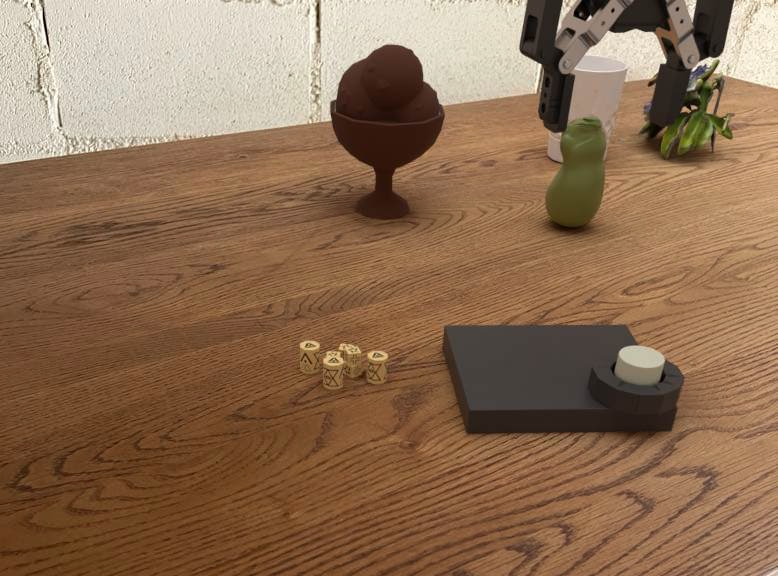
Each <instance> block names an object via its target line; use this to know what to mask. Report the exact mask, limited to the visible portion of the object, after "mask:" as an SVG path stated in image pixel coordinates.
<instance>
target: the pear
mask: <svg viewBox="0 0 778 576" xmlns="http://www.w3.org/2000/svg"><path fill="white" fill-rule="evenodd" d="M602 125H603V122H602V121H601V120H600V119H599V118H597V117H584V118H583V119H581V118H579V119H575V120H573V121H572V122H571V123H569V124H567V128H566V131H565V132H564V133H562V134H561V140H560V151H561V154H562V157H563V163H561V166H560V168H559V170H558V171H557V173H556V174H555V176H554V177H553V179H552V181H551V182H550V184H549V185H548V187H547V188H546V192H545V195H544V206H545V210H546V213H547V215H548V216H549V218H550V219H551V220H552V221H553V222H555V223H556V224H558V225H559V226H562V227H566V228H577V227H581V226H584V225H586V224H588V223H589V222H590V221H592V220H593V219H594V218H595V216H596V215H597V214H598V211H599V210H600V207H601V204H602V201H603V196H604V190H605V185H606V184H605V183H606V169H605V163H604V161H603V158H604V154H605V150H606V137H605V132H602Z"/></svg>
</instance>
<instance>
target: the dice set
mask: <svg viewBox="0 0 778 576" xmlns="http://www.w3.org/2000/svg"><path fill="white" fill-rule="evenodd" d="M366 356H367V357H366V381H367V383H369V384H372V385H383V384H384V383H386V382H387V381H388V365H389V364H388V363H389V356H388V354H387V352H385V351H382V350H372V351H370V352H368V353H367V355H366ZM322 360H323V361H322V384H323V388H325V389H327V390H330V391H331V390H332V391H334V390H335V391H337V390H340V389H342V388H343V387H344V375H345V376H347V377H348V378H350V379H354V378H357V377H360V376H362V375H363V362H362V351H361V349H360V348H359V346H358V345H357V346H355V345H354V344H349V343H340V345H339V347H338V349H337V351H326V357H323V359H322ZM320 368H321V344H320V343H319V342H317V341H315V340H305V341H302V342H300V344H299V371H300V372H301V373H303V374H306V375H314V374H316V373H319V372H320V370H321V369H320Z"/></svg>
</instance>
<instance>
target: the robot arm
mask: <svg viewBox="0 0 778 576" xmlns="http://www.w3.org/2000/svg"><path fill="white" fill-rule="evenodd" d="M563 2H564V0H526V5H525V11H524V17H523V21H522V29H521V33H520V40H519V47H518V49H519V52H520V54H521V55H522V56H524V57H526V58H528V59H530V60H532V61H534V62H536V63H537V64H540V65H541V67H542V71H543V74H542V80H541V88H540V96H539V102H538V107H537V112H538V117H539V119H540V120H541V121H542V124H543V127H544V128H545V129H546V130H548V131H549V130H550V131H551V132H553V133H564V132H565V131H566V128H567V123H568V117H569V111H570V105H571V99H572V93H573V87H574V80H575V75H574V74H572V73H571V72H572V71H573V69H574V68H575V67H576V65H577V64H578V63H579V61H580V60H581V59H582V57H583V56H584V55H585V54H587V53H588V51H589V50H590V49H591V48H592V47H595V46H597V45H598V44H599V43H600V42H601V41H602V39H603V38H604V37H605V35H606V34H607V33H608V32H611V33H613V34H625V33H628V32H631V31H634V30H638V31H640V32H644V33H653V34H654V35H655V36H656V38H657V40H658V44H659V45H660V48H661V50H662V54H663V56H664V57H665V60H666V61H665V62H664V63H660V64H659V67H658V72H657V73H658V76H657V81H656V83H655V84H654V90H653V94H652V99H651V100H652V104H651V108H650V113H649V118H650V121H651V122H653V123H655V124H657V125H658V126H660V127H665V128H667V127H670V126H672V125H673V124H674V122H675V118H676V117H678V116H679V115H680V113H682V112H683V108H684V107H683V104H684V100H685V96H686V95H685V94H686V92H687V87H688V83H689V79H690V75H691V72H692V71H693V69H694V68H695V67H696V66H697V65H698V64H699V63H700V62H703V61H704V60H706V59H708V58H712V59H716V58H719V57H720V56H721V55H722V54H723V52H724V50H725V47H726V42H727V37H728V32H729V28H730V23H731V18H732V13H733V8H734V3H735V0H696V1H695V7H694V11H693V12H694V13H693V18H692V17H691V14H690V13H689V9H688V6H687V4H686V0H575V1H574V3H573V4H572V6H571V7H570V9H569V10H568V12H567V13H566V14H565V15H564V17H563V18H562V20H561V22H560V18H561V13H562V9H563ZM590 17H591V18H590ZM589 18H590V19H589ZM560 23H561V25H560V26H561V27H560V28H559V30H558V27H559V24H560Z"/></svg>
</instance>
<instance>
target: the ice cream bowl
mask: <svg viewBox="0 0 778 576" xmlns="http://www.w3.org/2000/svg"><path fill="white" fill-rule="evenodd" d="M329 102H330V103H329V114H330V119H331V125H332V129H333V132H334V134H335V137H336V139H337V142H338V143H339V144H340V145H341V146H342V147H343V148H344V150H345V151H346V153H348V154H349V155H350V156H352V157H353V158H354V159H356V160H357V161H359V162H360V163H362V164H364V165H366V166H368V167H372V168H373V171H374V175H375V180H374V181H375V182H374V190H372V191H371V192H368V193H367V194H365V195H364V196H362V197H360V198H359V199H357V201H356V205H355V207H356V209H355V210H356V211H355V212H357V213H359V214H361V215H363V216H365V217H367V218H372V219H373V218H374V219H381V220H390V219H399V218H402V217H404V216H406V215H408V214H410V213H411V211H410V206H409V201H408V200H407V199H405V198H404V197H402V196H401V195H399V194H398V193H396V192H394V191H393V179H394V178H393V176H394V175H395V172H396V169H399V168H402V167H405V166H407V165H409V164H411V163H412V162H414V161H416V160H417V159H419V158H420V157H422V156H424V154H425V153H426V152H427V151H428V150H430V149H431V148H432V147H433V146H434V145H435V143H436V142H437V140H438V138H439V135H440V134H441V132H442V128H443V124H444V120H445V118H446V113H445V110H444V107H443V104H441V103H440V101H439V98H438V92H437V91H436V90H435V89H434V88H433V87H432V86H431V85H430V83H428V82H426V81H424V69H423V64H422V62H421V61H420V59H419V57H418V56H417V54H415V53H414V51H413V49H411V48H409V47H406V46H404V45H400V44H392V43H391V44H389V43H386V44H383V45H382V46H380V47H378V48H376V49H374V50H373V51H371V52H370V53H369V54H368V55H367V56H366V57H365V58H362V59H361V60H358V61H356V62H354V63H352V64H351V65H350V66H349V67H348V68H347V69H346V70H344V72H343V74H342V76H341V78H340V80H339V82H338V86H337V92H336V98H335V99H333V100H330V101H329Z"/></svg>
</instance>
